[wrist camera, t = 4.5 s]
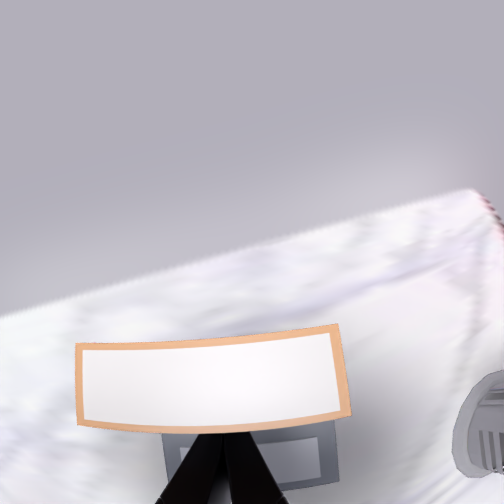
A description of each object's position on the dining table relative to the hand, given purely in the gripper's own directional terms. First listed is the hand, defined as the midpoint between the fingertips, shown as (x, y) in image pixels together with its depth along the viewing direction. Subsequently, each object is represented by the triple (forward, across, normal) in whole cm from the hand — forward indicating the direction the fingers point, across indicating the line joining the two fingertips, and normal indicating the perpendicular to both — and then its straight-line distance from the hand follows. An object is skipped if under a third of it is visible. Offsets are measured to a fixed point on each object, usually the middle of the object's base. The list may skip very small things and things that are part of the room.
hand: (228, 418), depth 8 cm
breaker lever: (+4, 0, +4) cm, 6 cm away
